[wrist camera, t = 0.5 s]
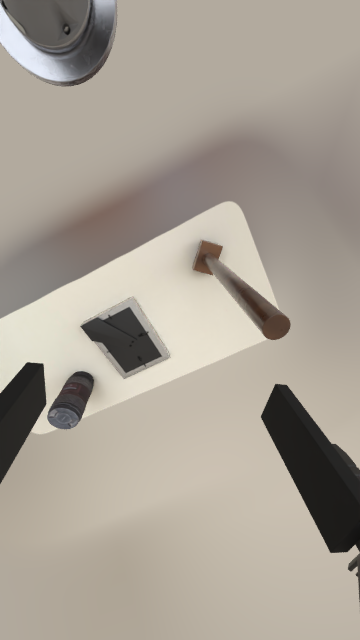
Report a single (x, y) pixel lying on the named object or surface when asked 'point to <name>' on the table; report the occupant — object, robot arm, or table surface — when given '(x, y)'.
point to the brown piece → (242, 292)
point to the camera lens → (71, 401)
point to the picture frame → (126, 338)
